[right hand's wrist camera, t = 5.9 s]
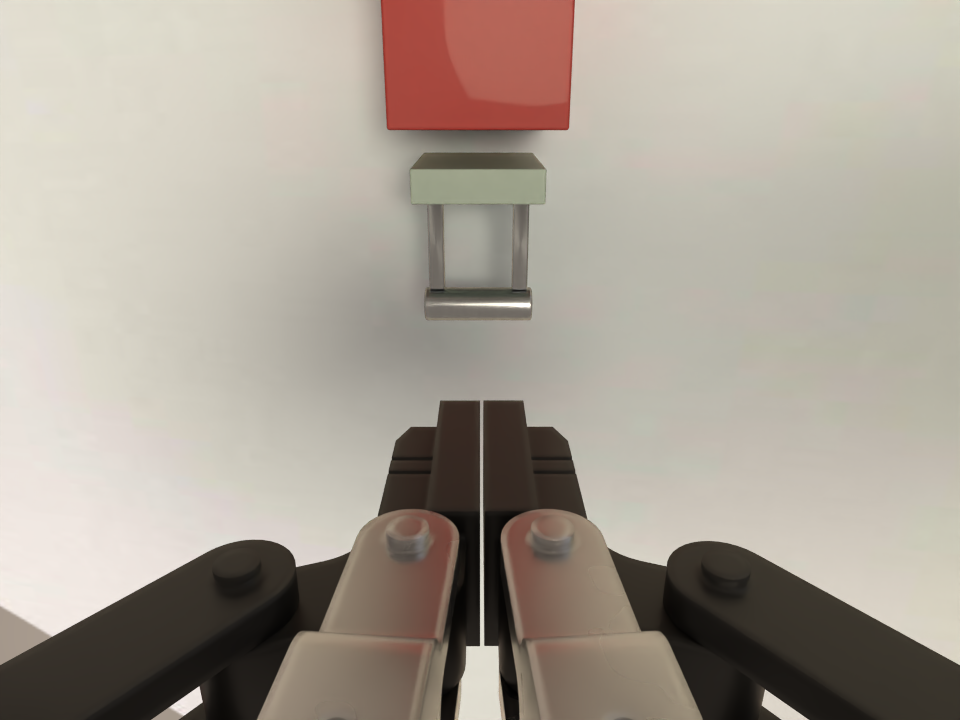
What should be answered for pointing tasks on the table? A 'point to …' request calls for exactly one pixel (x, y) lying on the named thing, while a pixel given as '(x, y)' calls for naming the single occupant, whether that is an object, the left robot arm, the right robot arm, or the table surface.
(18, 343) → the table surface
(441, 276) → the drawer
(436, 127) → the cabinet
